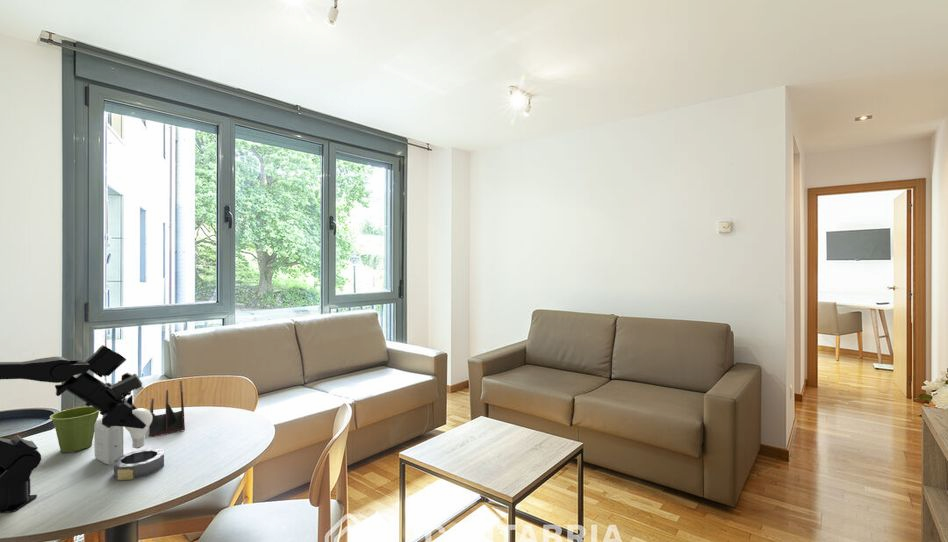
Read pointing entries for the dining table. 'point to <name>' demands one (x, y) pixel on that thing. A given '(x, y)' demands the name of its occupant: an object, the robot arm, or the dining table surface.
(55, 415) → the plant pot
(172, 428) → the letter holder
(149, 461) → the roll of grey tape
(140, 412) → the lightbulb
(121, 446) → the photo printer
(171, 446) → the dining table surface
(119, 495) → the dining table surface
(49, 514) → the dining table surface
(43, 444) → the dining table surface
